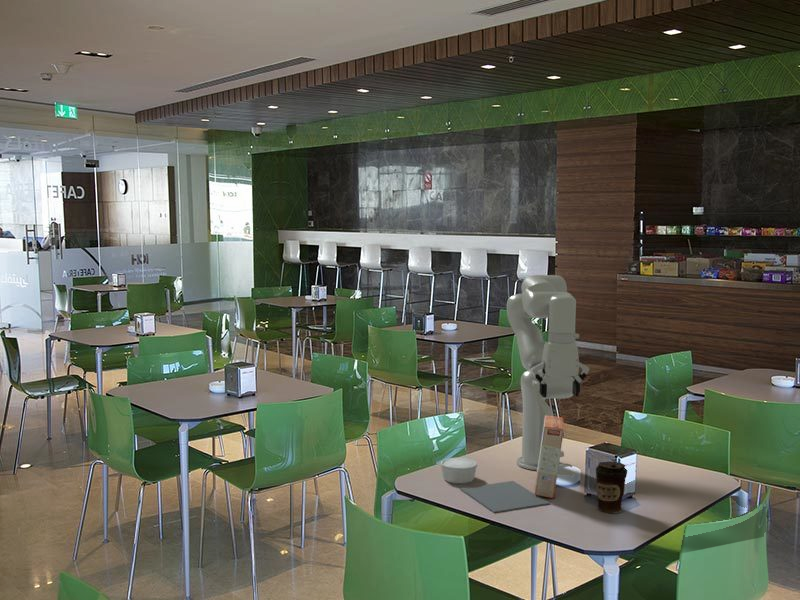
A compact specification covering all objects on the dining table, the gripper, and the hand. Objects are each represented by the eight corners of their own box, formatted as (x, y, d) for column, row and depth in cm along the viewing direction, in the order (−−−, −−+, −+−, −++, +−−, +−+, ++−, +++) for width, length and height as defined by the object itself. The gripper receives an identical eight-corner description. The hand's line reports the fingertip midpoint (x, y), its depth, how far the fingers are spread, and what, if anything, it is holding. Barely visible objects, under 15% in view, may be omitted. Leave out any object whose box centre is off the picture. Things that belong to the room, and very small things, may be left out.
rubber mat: (512, 482, 239) (513, 480, 239) (549, 504, 221) (549, 502, 221) (460, 489, 232) (460, 488, 232) (493, 513, 214) (493, 511, 214)
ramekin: (435, 474, 246) (436, 458, 246) (469, 472, 249) (469, 455, 248) (446, 486, 235) (447, 469, 235) (481, 483, 238) (482, 466, 238)
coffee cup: (621, 518, 211) (622, 471, 210) (590, 512, 215) (592, 466, 214) (628, 507, 218) (630, 462, 217) (599, 502, 223) (600, 457, 221)
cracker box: (555, 499, 225) (564, 429, 222) (534, 496, 226) (543, 425, 223) (555, 483, 238) (564, 416, 236) (535, 480, 239) (544, 413, 237)
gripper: (585, 335, 231) (582, 391, 234) (528, 336, 229) (526, 393, 231) (595, 339, 224) (592, 398, 226) (536, 341, 221) (535, 400, 224)
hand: (559, 395), depth 229 cm, fingers open, 9 cm apart
